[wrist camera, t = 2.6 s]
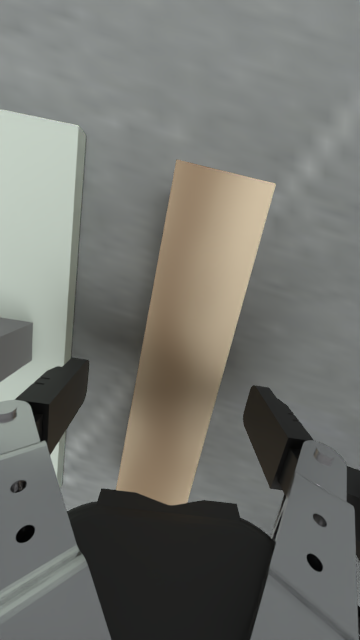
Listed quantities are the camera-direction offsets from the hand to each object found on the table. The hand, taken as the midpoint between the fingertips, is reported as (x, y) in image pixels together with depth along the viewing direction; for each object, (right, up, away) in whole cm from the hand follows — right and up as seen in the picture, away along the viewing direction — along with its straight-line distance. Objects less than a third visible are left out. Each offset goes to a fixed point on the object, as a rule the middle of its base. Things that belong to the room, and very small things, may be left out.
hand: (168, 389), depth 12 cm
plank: (0, +1, +5) cm, 5 cm away
